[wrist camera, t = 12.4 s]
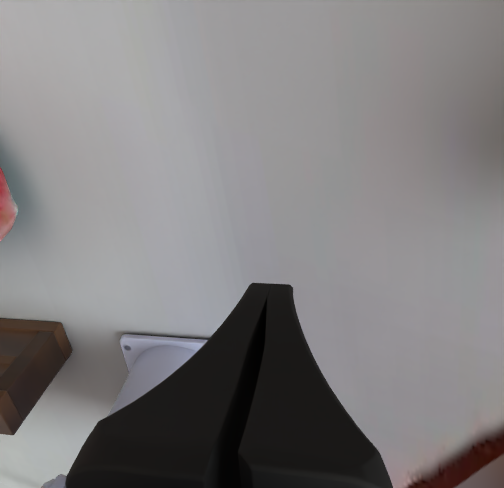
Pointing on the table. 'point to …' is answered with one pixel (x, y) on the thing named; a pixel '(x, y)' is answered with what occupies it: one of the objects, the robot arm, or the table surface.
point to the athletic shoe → (6, 207)
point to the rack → (27, 366)
